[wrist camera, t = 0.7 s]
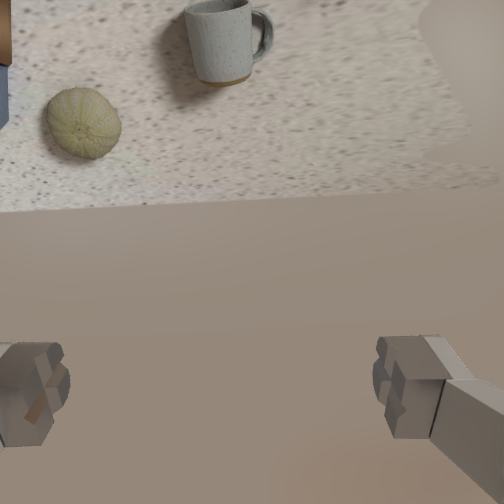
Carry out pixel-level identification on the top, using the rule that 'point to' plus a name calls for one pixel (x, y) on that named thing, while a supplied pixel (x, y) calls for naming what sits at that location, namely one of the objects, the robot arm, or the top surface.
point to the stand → (5, 32)
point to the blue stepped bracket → (3, 96)
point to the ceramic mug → (224, 40)
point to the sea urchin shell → (83, 122)
